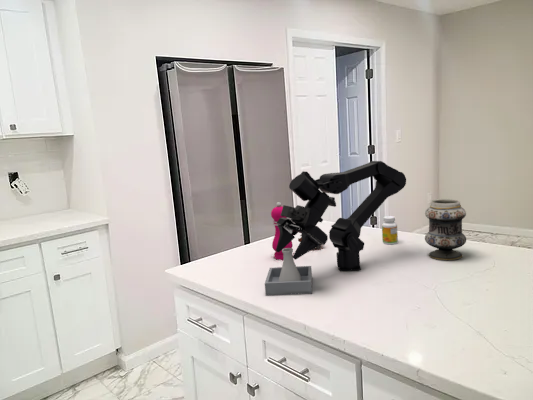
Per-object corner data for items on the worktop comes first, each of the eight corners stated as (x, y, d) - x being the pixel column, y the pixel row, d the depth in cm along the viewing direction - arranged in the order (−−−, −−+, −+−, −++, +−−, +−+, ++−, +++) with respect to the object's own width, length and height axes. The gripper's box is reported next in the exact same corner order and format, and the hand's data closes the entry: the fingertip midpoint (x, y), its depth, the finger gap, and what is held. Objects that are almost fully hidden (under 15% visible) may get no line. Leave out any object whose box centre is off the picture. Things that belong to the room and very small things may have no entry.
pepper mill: (292, 260, 137) (287, 203, 133) (271, 260, 138) (266, 204, 135) (294, 253, 144) (290, 199, 140) (275, 254, 145) (270, 200, 142)
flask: (282, 277, 119) (280, 245, 117) (305, 279, 116) (303, 246, 114) (273, 286, 112) (270, 252, 110) (298, 288, 109) (295, 253, 108)
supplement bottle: (379, 242, 148) (378, 217, 147) (392, 239, 150) (391, 214, 148) (388, 245, 143) (387, 219, 142) (400, 243, 145) (399, 217, 143)
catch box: (312, 276, 119) (311, 265, 119) (311, 293, 107) (310, 281, 106) (270, 278, 121) (269, 267, 120) (265, 295, 109) (264, 283, 108)
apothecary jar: (475, 256, 124) (475, 200, 121) (446, 264, 119) (445, 206, 116) (445, 248, 135) (444, 196, 132) (417, 254, 130) (415, 201, 128)
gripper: (279, 191, 120) (250, 233, 117) (315, 197, 104) (283, 246, 100) (302, 212, 125) (275, 253, 122) (341, 220, 109) (311, 268, 105)
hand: (285, 254), depth 112 cm, fingers open, 9 cm apart
